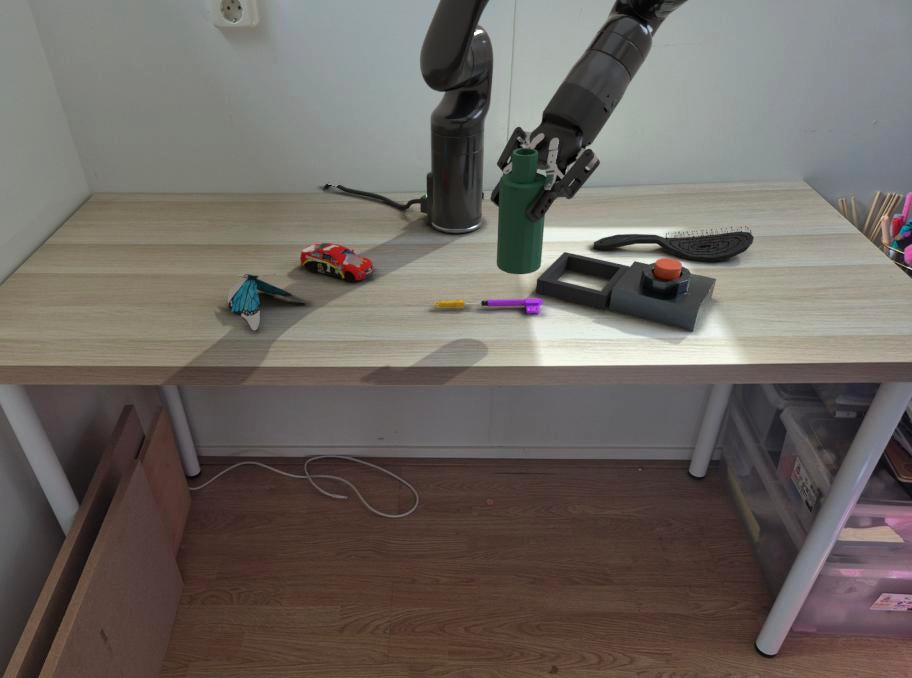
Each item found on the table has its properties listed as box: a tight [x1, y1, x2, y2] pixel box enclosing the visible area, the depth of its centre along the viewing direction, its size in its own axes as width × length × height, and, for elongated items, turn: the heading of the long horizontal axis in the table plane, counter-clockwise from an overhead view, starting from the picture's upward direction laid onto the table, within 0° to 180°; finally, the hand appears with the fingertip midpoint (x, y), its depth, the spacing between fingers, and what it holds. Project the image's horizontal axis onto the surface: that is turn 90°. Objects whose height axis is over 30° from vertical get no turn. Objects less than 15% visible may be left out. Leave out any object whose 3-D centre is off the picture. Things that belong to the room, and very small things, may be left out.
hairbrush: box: [593, 225, 754, 263], centre depth 117 cm, size 8×4×25 cm
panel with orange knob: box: [608, 260, 717, 333], centre depth 102 cm, size 12×10×6 cm
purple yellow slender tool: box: [434, 297, 544, 314], centre depth 104 cm, size 3×1×16 cm
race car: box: [299, 242, 374, 283], centre depth 116 cm, size 13×5×4 cm, turn 57°
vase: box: [496, 148, 546, 275], centre depth 92 cm, size 6×6×16 cm
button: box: [653, 257, 683, 279], centre depth 100 cm, size 4×4×2 cm
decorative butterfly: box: [227, 273, 307, 331], centre depth 107 cm, size 10×6×10 cm
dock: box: [535, 251, 631, 311], centre depth 108 cm, size 11×11×2 cm
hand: (512, 211), depth 91 cm, fingers closed on vase, 6 cm apart
